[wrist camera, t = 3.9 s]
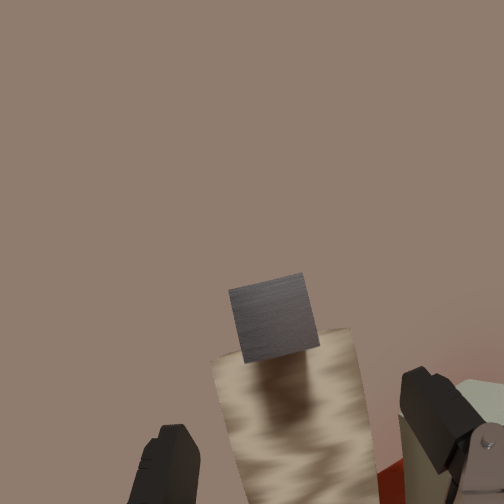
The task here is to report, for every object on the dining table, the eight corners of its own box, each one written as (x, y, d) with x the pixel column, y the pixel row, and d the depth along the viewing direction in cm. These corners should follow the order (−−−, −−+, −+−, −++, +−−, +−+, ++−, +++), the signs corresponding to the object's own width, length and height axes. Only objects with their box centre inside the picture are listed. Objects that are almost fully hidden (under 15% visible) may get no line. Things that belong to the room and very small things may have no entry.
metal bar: (244, 364, 14) (228, 290, 15) (264, 344, 35) (257, 314, 36) (320, 346, 14) (302, 272, 15) (294, 337, 35) (287, 307, 36)
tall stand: (281, 587, 14) (210, 360, 23) (282, 545, 24) (229, 352, 32) (382, 564, 14) (350, 327, 23) (364, 526, 23) (329, 329, 32)
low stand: (431, 587, 6) (450, 445, 12) (404, 546, 15) (398, 413, 22) (500, 544, 6) (530, 387, 12) (464, 514, 15) (468, 378, 21)
